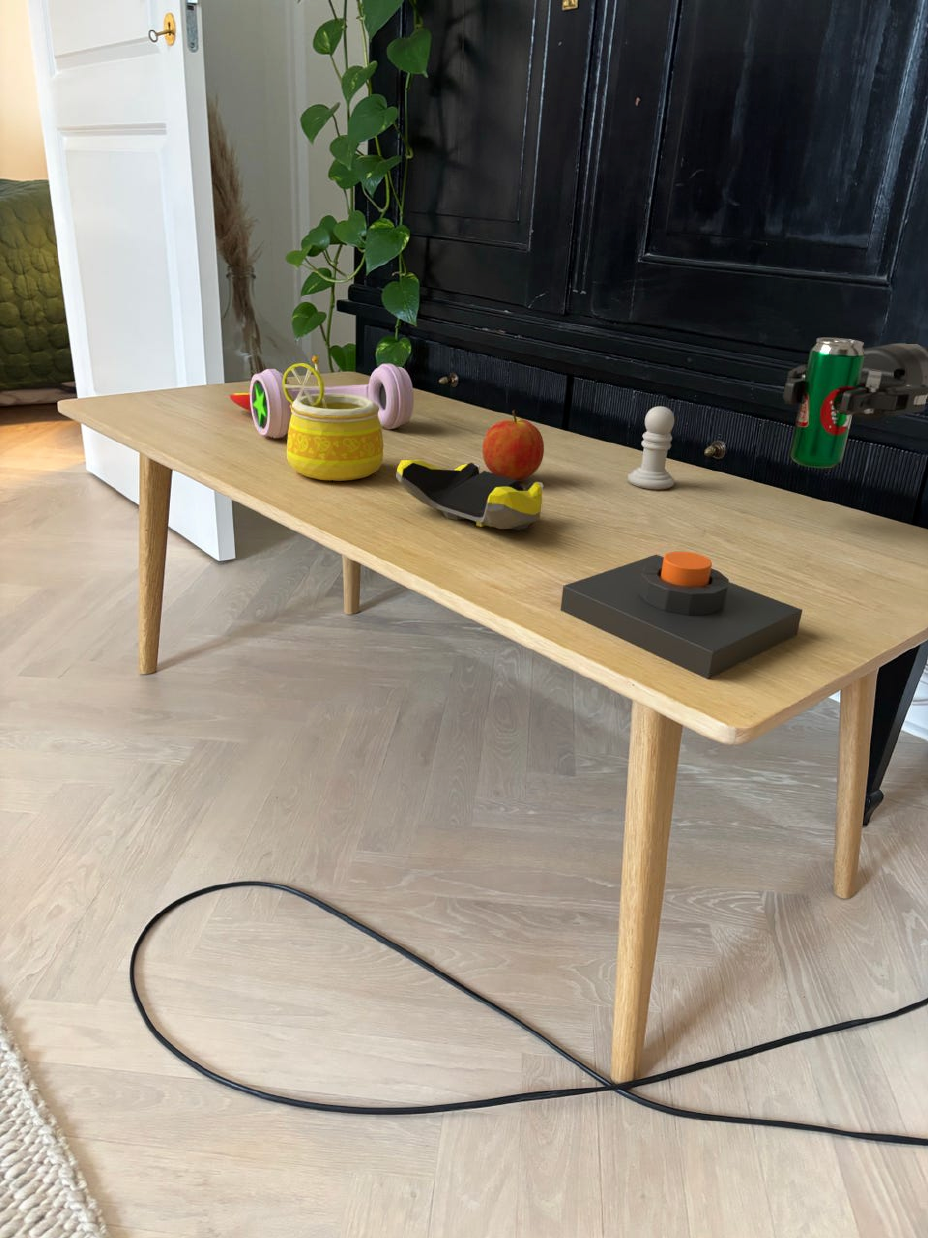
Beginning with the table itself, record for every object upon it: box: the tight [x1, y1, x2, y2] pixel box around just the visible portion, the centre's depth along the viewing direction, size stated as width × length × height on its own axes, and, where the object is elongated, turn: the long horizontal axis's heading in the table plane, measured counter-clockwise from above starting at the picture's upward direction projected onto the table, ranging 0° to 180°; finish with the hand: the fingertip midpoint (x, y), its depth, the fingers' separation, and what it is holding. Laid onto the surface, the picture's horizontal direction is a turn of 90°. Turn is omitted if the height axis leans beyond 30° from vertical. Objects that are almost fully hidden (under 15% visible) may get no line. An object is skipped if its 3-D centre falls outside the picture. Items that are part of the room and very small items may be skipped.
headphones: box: [229, 363, 415, 439], centre depth 122 cm, size 20×10×20 cm
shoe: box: [395, 459, 544, 531], centre depth 90 cm, size 15×6×10 cm
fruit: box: [482, 409, 545, 482], centre depth 103 cm, size 7×7×8 cm
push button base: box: [560, 554, 803, 680], centre depth 71 cm, size 14×12×4 cm
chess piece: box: [627, 405, 675, 491], centre depth 104 cm, size 5×5×9 cm
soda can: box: [789, 337, 866, 469], centre depth 90 cm, size 5×5×12 cm
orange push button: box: [661, 550, 713, 587], centre depth 70 cm, size 4×4×2 cm
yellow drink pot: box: [283, 355, 384, 482], centre depth 102 cm, size 13×11×12 cm
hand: (816, 398), depth 88 cm, fingers closed on soda can, 5 cm apart
